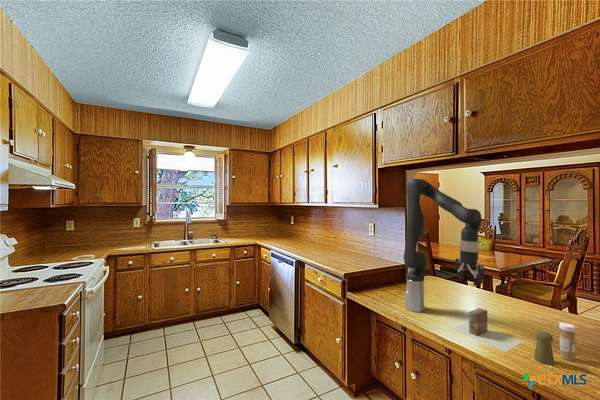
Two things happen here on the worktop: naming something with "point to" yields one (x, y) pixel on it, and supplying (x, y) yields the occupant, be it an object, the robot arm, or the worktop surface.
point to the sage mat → (490, 338)
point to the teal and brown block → (478, 321)
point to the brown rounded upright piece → (544, 348)
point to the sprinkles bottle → (567, 341)
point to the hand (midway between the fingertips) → (468, 282)
